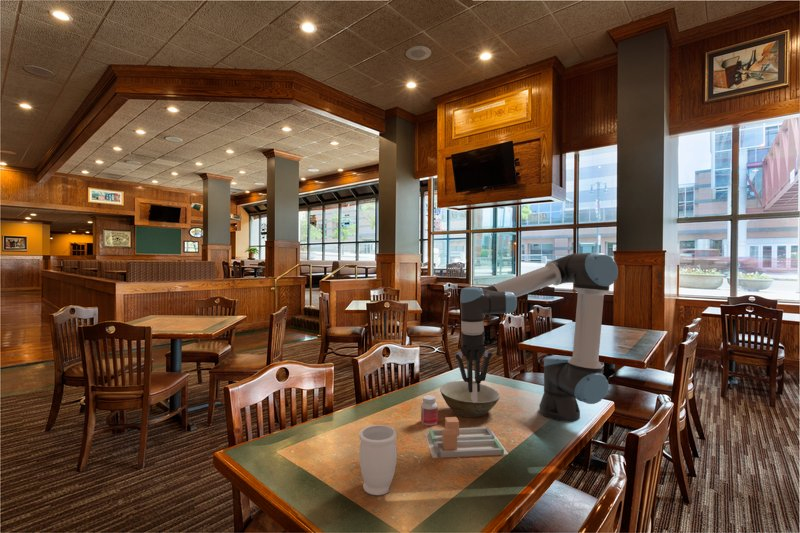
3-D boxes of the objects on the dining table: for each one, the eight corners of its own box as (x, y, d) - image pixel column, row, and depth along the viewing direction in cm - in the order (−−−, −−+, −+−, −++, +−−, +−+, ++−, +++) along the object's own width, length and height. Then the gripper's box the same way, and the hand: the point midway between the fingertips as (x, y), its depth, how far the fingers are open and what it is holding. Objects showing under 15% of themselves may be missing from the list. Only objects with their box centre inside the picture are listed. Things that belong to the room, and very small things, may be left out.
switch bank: (492, 435, 136) (492, 426, 135) (508, 458, 120) (508, 449, 120) (425, 438, 134) (424, 429, 134) (432, 462, 118) (432, 452, 118)
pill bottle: (441, 427, 142) (441, 398, 142) (427, 431, 139) (427, 401, 138) (430, 421, 147) (430, 393, 147) (417, 425, 144) (417, 396, 143)
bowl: (509, 412, 156) (510, 388, 155) (481, 432, 138) (481, 405, 137) (459, 398, 171) (459, 376, 171) (428, 415, 153) (428, 390, 153)
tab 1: (456, 434, 133) (456, 416, 133) (459, 439, 129) (459, 421, 129) (445, 434, 133) (445, 417, 132) (447, 439, 129) (447, 422, 128)
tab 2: (454, 447, 124) (454, 428, 124) (457, 453, 120) (457, 434, 120) (442, 447, 123) (442, 429, 123) (444, 453, 119) (444, 434, 119)
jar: (359, 476, 110) (359, 425, 110) (395, 474, 111) (395, 423, 111) (358, 499, 100) (358, 442, 99) (398, 497, 100) (398, 441, 100)
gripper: (487, 329, 135) (489, 396, 136) (451, 331, 134) (453, 398, 134) (494, 334, 127) (496, 404, 128) (456, 335, 126) (458, 406, 127)
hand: (474, 401), depth 131 cm, fingers closed
